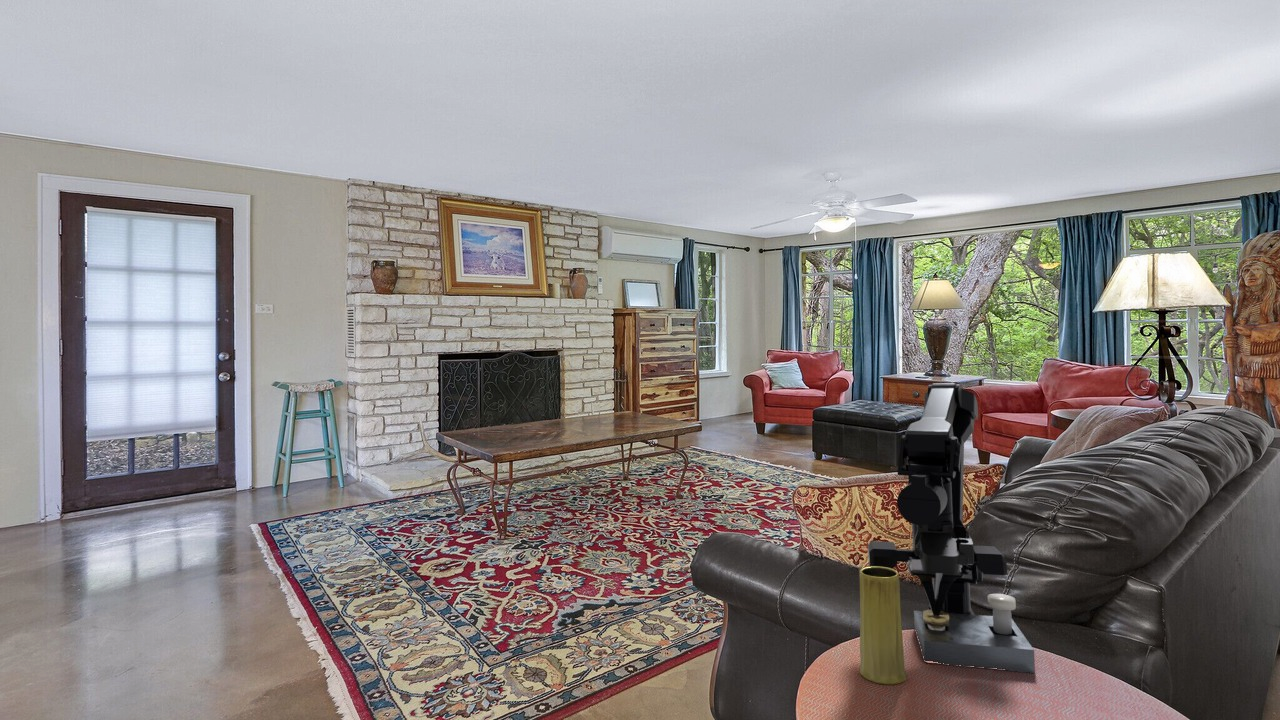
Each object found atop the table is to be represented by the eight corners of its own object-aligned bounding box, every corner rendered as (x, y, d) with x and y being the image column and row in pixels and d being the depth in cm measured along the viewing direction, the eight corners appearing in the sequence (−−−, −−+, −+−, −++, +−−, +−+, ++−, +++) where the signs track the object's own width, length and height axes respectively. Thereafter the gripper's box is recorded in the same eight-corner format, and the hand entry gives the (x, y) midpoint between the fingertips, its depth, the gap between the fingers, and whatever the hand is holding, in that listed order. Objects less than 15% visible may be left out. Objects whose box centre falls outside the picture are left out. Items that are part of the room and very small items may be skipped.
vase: (898, 665, 92) (895, 565, 93) (912, 686, 86) (908, 578, 87) (855, 664, 93) (851, 565, 93) (865, 685, 87) (861, 578, 87)
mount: (914, 630, 104) (913, 610, 104) (1011, 638, 100) (1010, 617, 100) (924, 663, 93) (923, 640, 93) (1035, 673, 89) (1034, 649, 89)
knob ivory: (986, 625, 97) (985, 592, 98) (1013, 627, 96) (1011, 594, 96) (992, 635, 94) (990, 601, 94) (1019, 637, 93) (1018, 603, 93)
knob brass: (922, 640, 100) (921, 608, 100) (948, 642, 99) (946, 610, 99) (926, 650, 96) (924, 617, 97) (952, 652, 95) (951, 619, 96)
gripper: (869, 521, 93) (874, 629, 93) (1014, 525, 88) (1019, 641, 87) (866, 505, 104) (869, 602, 103) (995, 508, 98) (999, 611, 98)
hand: (936, 614), depth 98 cm, fingers closed, pressing on knob brass
